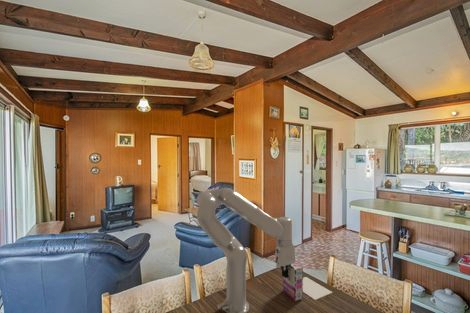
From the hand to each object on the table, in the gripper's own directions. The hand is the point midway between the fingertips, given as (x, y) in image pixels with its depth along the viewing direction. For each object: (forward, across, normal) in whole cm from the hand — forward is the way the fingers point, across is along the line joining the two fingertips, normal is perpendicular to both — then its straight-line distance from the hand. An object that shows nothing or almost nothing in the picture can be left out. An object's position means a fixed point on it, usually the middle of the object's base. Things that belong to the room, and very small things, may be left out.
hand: (285, 276), depth 130 cm
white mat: (+12, +18, 0) cm, 21 cm away
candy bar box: (+12, +5, 0) cm, 13 cm away
